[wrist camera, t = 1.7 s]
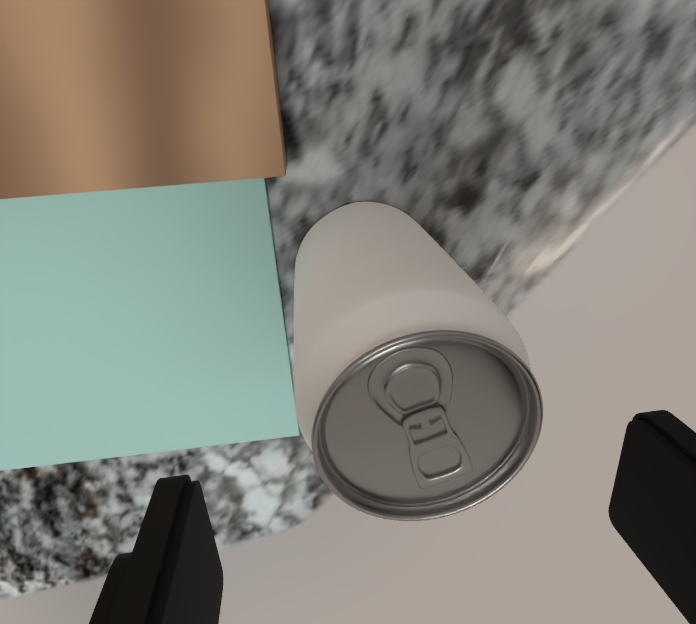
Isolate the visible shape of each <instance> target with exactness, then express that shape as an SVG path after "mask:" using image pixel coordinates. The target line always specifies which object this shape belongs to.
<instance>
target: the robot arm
mask: <svg viewBox="0 0 696 624" xmlns="http://www.w3.org/2000/svg"><path fill="white" fill-rule="evenodd" d="M609 517H610V520H611V522H612V524H613V526H614V527H615V529H616V530H617V531H618V533H619V534H620V535H621V537H622V538H623V539H624V540H625V542H626V543H627V544H628V545H629V547H630V548H631V549H632V551H633V552H634V553H635V554H636V556H637V557H638V558H639V560H640V561H641V562H642V563H643V565H644V566H645V567H646V569H647V570H648V571H649V572H650V573H651V575H652V576H653V577H654V579H655V580H656V581H657V582H658V584H659V585H660V586H661V588H662V589H663V590H664V592H665V593H666V594H667V595H668V597H669V598H670V599H671V600H672V602H673V603H674V604H675V606H676V607H677V608H678V609H679V611H680V612H681V613H682V614H683V616H684V617H685V618H686V619H687V621H688V622H689V623H690V624H696V433H695V432H694V431H693V430H692V429H690V428H689V427H688V426H687V425H685V424H684V423H683V422H682V421H680V420H679V419H678V418H677V417H675V416H674V415H673V414H671V413H670V412H668V411H665V410H659V411H651V412H644V413H639V414H636V415H635V416H634V417H633V420H632V421H630V422H629V423H628V425H627V428H626V433H625V437H624V442H623V447H622V451H621V455H620V460H619V465H618V469H617V474H616V478H615V483H614V487H613V492H612V496H611V502H610V505H609ZM222 591H223V571H222V566H221V562H220V558H219V554H218V550H217V547H216V543H215V539H214V535H213V531H212V527H211V523H210V519H209V515H208V511H207V508H206V504H205V500H204V496H203V492H202V488H201V485H200V482H199V481H192V482H191V479H190V477H189V475H181V476H174V477H167V478H160V479H159V480H157V483H156V485H155V488H154V491H153V493H152V496H151V499H150V502H149V505H148V508H147V511H146V514H145V517H144V520H143V523H142V525H141V528H140V531H139V534H138V537H137V540H136V543H135V546H134V549H133V552H131V553H124V554H120V555H118V556H117V557H116V558H115V559H114V561H113V563H112V565H111V567H110V570H109V572H108V575H107V578H106V580H105V583H104V586H103V588H102V591H101V594H100V596H99V599H98V601H97V604H96V606H95V609H94V612H93V614H92V617H91V620H90V622H89V624H218V621H219V614H220V606H221V598H222Z"/></svg>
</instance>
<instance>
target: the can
mask: <svg viewBox="0 0 696 624" xmlns="http://www.w3.org/2000/svg"><path fill="white" fill-rule="evenodd" d="M293 369H294V403H295V410H296V416H297V421H298V424H299V427H300V430H301V433H302V435H303V437H304V439H305V441H306V442H307V444H308V446H309V447H310V449H311V450H312V453H313V458H314V461H315V464H316V467H317V469H318V472H319V474H320V476H321V477H322V479H323V480H324V482H325V483H326V485H327V486H328V487H329V488H330V490H331V491H332V492H333V493H334V494H335V495H336V496H338V497H339V498H340V499H341V500H343V501H344V502H345V503H347V504H348V505H350V506H352V507H353V508H355V509H357V510H359V511H362V512H364V513H367V514H369V515H373V516H376V517H380V518H384V519H390V520H399V521H421V520H430V519H436V518H441V517H445V516H449V515H452V514H456V513H458V512H461V511H464V510H466V509H469V508H471V507H473V506H475V505H477V504H479V503H481V502H483V501H484V500H486V499H488V498H489V497H491V496H492V495H494V494H495V493H497V492H498V491H499V490H501V489H502V488H503V487H504V486H505V485H507V484H508V483H509V482H510V481H511V480H512V479H513V478H514V477H515V476H516V475H517V474H518V472H519V471H520V470H521V469H522V467H523V466H524V465H525V463H526V462H527V461H528V459H529V457H530V456H531V454H532V452H533V450H534V448H535V446H536V443H537V441H538V438H539V435H540V431H541V427H542V419H543V403H542V397H541V392H540V389H539V386H538V384H537V381H536V379H535V377H534V375H533V374H532V372H531V371H530V365H529V360H528V356H527V352H526V349H525V346H524V344H523V342H522V339H521V338H520V336H519V334H518V332H517V331H516V330H515V328H514V326H513V325H512V324H511V322H510V321H509V320H508V318H507V317H506V316H505V315H504V314H503V312H502V311H501V310H500V309H499V308H498V307H497V306H496V305H495V303H494V302H493V301H492V300H491V299H490V298H489V297H488V296H487V295H486V294H485V293H484V292H483V291H482V289H481V288H480V287H479V286H478V285H477V284H476V283H475V282H474V281H473V280H472V279H471V278H470V277H469V276H468V275H467V274H466V273H465V272H464V271H463V269H462V268H461V267H460V266H459V265H458V264H457V263H456V262H455V261H454V260H453V259H452V258H451V257H450V256H449V255H448V254H447V253H446V252H445V251H444V250H443V249H442V248H441V247H440V246H439V244H438V243H437V242H436V241H435V240H434V239H433V238H432V237H431V236H430V235H429V234H428V233H427V232H426V231H425V230H424V229H423V228H422V227H421V226H420V225H419V224H418V223H417V222H416V221H415V220H413V219H412V218H411V217H410V216H409V215H407V214H406V213H404V212H402V211H401V210H399V209H397V208H395V207H392V206H389V205H386V204H382V203H376V202H355V203H351V204H347V205H344V206H342V207H340V208H337V209H335V210H334V211H332V212H330V213H329V214H327V215H326V216H324V217H323V218H321V219H320V220H319V221H318V222H317V223H315V224H314V225H313V227H312V228H311V229H310V230H309V231H308V233H307V234H306V236H305V237H304V239H303V241H302V243H301V245H300V248H299V250H298V254H297V257H296V263H295V275H294V360H293Z"/></svg>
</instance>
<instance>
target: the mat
mask: <svg viewBox="0 0 696 624" xmlns="http://www.w3.org/2000/svg"><path fill="white" fill-rule="evenodd" d="M291 436H299V426H298V421H297V416H296V410H295V403H294V389H293V382H292V375H291V367H290V360H289V353H288V345H287V338H286V330H285V323H284V316H283V308H282V301H281V294H280V286H279V279H278V272H277V264H276V257H275V250H274V242H273V235H272V227H271V220H270V213H269V205H268V198H267V191H266V183H265V178H256V179H244V180H231V181H219V182H207V183H194V184H182V185H170V186H157V187H145V188H133V189H120V190H108V191H96V192H84V193H71V194H59V195H47V196H34V197H22V198H10V199H0V471H2V470H10V469H19V468H27V467H36V466H44V465H53V464H61V463H70V462H78V461H87V460H95V459H104V458H112V457H121V456H129V455H138V454H146V453H155V452H163V451H172V450H180V449H189V448H197V447H206V446H214V445H223V444H231V443H240V442H248V441H257V440H265V439H274V438H282V437H291Z"/></svg>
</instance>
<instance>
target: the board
mask: <svg viewBox="0 0 696 624" xmlns="http://www.w3.org/2000/svg"><path fill="white" fill-rule="evenodd" d="M286 166H287V159H286V151H285V142H284V133H283V125H282V116H281V107H280V98H279V90H278V81H277V72H276V64H275V55H274V46H273V37H272V29H271V20H270V11H269V3H268V0H0V199H10V198H22V197H34V196H47V195H59V194H71V193H84V192H96V191H108V190H120V189H133V188H145V187H157V186H170V185H182V184H194V183H207V182H219V181H231V180H244V179H256V178H268V177H281V176H285V174H286Z"/></svg>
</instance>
